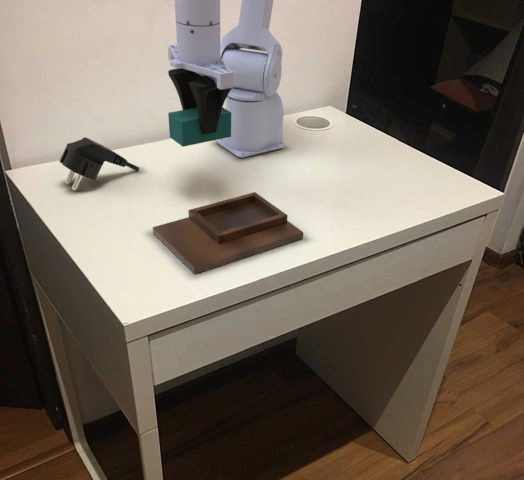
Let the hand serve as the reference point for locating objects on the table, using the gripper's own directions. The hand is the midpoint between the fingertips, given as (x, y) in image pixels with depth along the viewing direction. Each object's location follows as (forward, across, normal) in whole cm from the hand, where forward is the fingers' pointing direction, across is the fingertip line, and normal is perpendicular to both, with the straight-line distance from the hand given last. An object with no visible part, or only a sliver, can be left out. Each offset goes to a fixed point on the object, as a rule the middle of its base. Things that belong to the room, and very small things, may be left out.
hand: (200, 127), depth 84 cm
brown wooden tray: (+9, +14, -4) cm, 18 cm away
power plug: (+10, -10, -12) cm, 18 cm away
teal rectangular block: (+1, 0, 0) cm, 1 cm away
